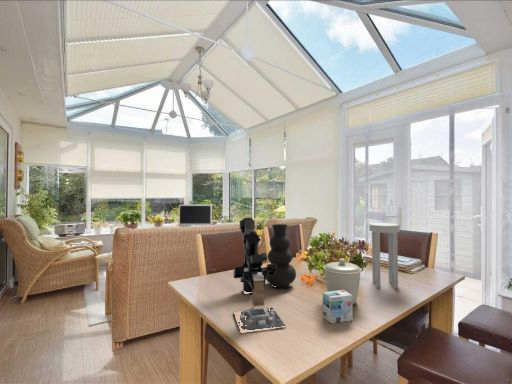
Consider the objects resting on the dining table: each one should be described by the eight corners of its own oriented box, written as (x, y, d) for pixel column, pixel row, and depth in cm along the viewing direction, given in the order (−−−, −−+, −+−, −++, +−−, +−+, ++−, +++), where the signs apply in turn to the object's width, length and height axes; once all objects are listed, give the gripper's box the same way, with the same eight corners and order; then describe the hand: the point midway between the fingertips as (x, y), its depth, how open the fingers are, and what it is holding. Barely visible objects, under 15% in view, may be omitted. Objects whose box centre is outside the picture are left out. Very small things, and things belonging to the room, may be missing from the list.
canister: (345, 292, 145) (344, 253, 145) (370, 305, 128) (370, 260, 128) (316, 297, 138) (315, 256, 138) (339, 312, 121) (338, 264, 121)
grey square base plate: (233, 313, 120) (233, 305, 120) (272, 309, 124) (272, 301, 124) (240, 333, 103) (240, 324, 103) (285, 328, 107) (285, 319, 107)
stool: (372, 288, 151) (372, 225, 152) (368, 279, 166) (367, 222, 167) (403, 290, 148) (402, 226, 148) (395, 281, 163) (395, 223, 163)
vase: (302, 288, 152) (301, 225, 152) (272, 293, 145) (271, 227, 145) (286, 279, 169) (286, 222, 169) (259, 282, 162) (258, 224, 162)
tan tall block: (252, 302, 115) (252, 274, 115) (261, 301, 116) (261, 273, 116) (254, 306, 111) (254, 277, 111) (264, 305, 112) (263, 276, 112)
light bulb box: (330, 324, 110) (330, 297, 110) (322, 317, 116) (321, 291, 116) (353, 320, 113) (353, 294, 113) (344, 314, 119) (343, 289, 119)
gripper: (234, 247, 115) (238, 281, 105) (275, 245, 120) (284, 277, 109) (231, 261, 123) (235, 294, 112) (270, 259, 128) (278, 290, 117)
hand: (258, 289), depth 112 cm, fingers closed on tan tall block, 4 cm apart
